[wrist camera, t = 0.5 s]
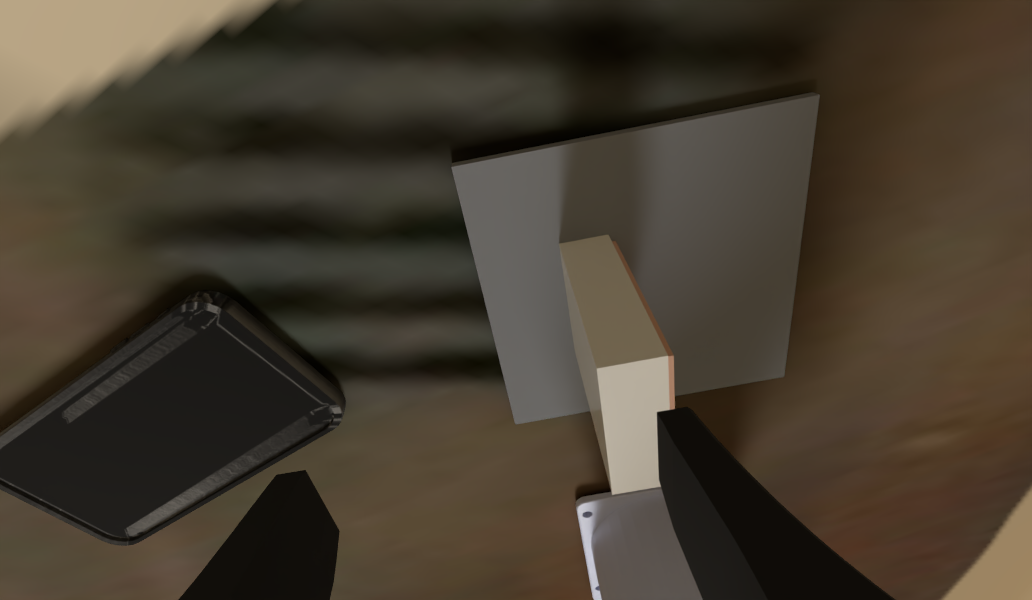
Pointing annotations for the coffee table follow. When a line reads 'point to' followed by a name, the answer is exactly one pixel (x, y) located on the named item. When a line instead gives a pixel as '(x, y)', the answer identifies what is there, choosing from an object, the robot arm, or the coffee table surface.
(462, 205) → the mat
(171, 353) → the phone
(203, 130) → the coffee table surface
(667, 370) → the tile
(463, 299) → the coffee table surface
